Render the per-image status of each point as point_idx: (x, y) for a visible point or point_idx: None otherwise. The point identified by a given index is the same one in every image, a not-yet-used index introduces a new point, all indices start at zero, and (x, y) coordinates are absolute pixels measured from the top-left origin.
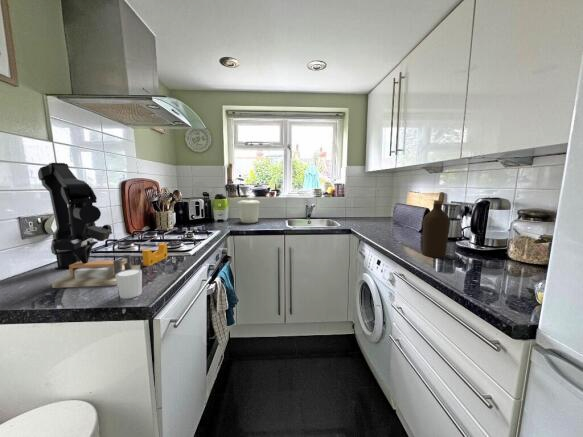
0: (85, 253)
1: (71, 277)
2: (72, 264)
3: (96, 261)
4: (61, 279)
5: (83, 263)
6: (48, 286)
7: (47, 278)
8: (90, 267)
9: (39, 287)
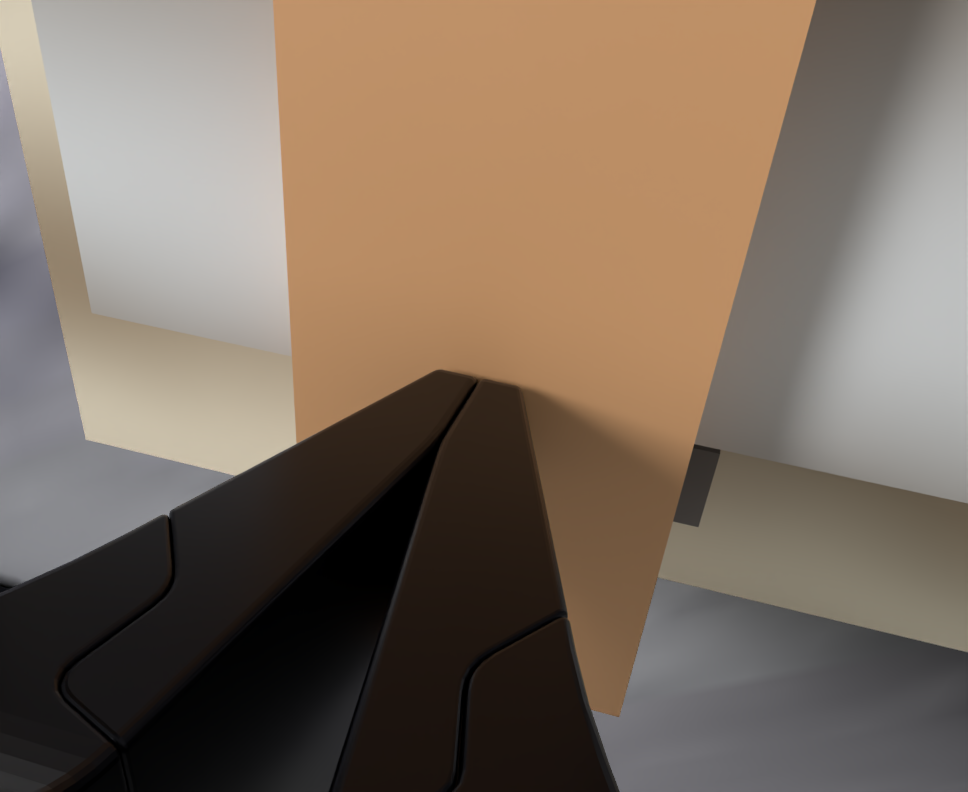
0: (537, 678)
1: (748, 464)
2: None
3: (345, 102)
4: (813, 588)
5: None
6: (867, 658)
7: None
8: (782, 129)
9: (857, 740)
